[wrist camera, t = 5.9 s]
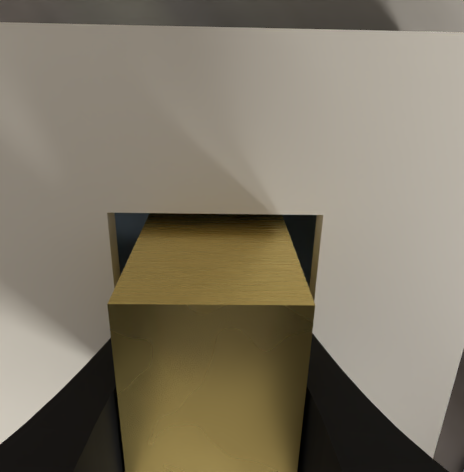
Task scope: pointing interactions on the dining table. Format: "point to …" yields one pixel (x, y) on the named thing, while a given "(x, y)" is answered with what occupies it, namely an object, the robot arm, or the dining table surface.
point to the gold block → (211, 345)
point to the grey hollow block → (237, 189)
